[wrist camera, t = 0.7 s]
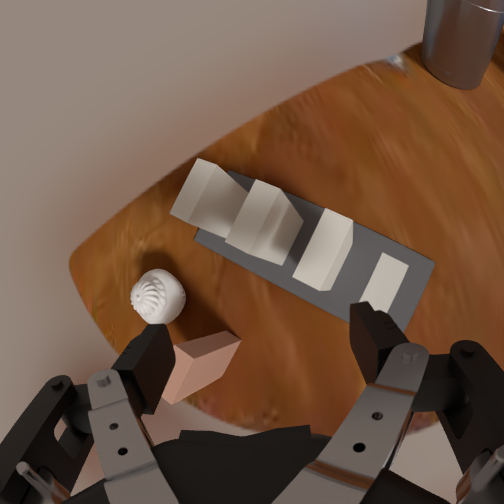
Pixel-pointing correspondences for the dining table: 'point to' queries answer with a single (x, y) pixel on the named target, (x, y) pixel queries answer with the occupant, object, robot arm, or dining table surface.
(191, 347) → the terracotta domino
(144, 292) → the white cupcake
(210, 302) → the dining table surface
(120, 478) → the robot arm
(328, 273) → the ivory domino
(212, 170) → the ivory domino
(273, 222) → the ivory domino
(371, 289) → the domino mat
